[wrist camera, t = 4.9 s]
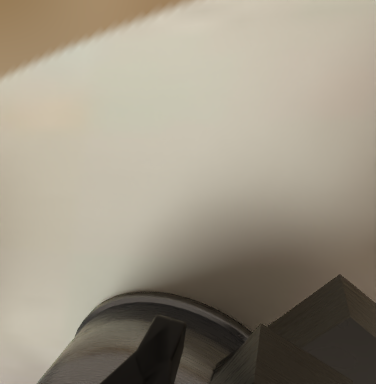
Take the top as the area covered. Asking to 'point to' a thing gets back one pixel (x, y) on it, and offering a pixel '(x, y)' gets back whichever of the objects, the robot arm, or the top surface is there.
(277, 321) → the pot
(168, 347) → the robot arm
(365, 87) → the top surface
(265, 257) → the top surface
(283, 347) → the lid
